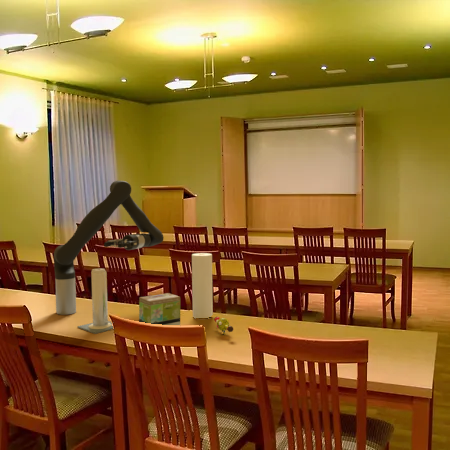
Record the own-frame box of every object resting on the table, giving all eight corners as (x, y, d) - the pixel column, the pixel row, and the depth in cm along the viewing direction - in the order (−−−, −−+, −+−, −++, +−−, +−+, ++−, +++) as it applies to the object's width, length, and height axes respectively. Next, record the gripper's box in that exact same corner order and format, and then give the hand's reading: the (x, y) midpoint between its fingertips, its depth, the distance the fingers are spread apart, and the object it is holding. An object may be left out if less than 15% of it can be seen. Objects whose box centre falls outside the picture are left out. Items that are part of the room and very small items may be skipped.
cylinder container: (215, 317, 237) (214, 254, 235) (196, 319, 234) (195, 255, 232) (208, 313, 246) (207, 251, 244) (190, 315, 243) (189, 252, 240)
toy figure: (209, 329, 219) (209, 313, 218) (221, 327, 221) (221, 312, 220) (224, 341, 202) (224, 324, 201) (237, 339, 204) (237, 322, 203)
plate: (77, 327, 223) (77, 325, 223) (105, 321, 233) (105, 319, 233) (94, 333, 213) (94, 332, 213) (122, 327, 223) (122, 325, 223)
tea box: (151, 336, 209) (150, 301, 208) (138, 331, 217) (138, 297, 216) (181, 329, 219) (180, 295, 218) (168, 324, 226) (167, 292, 225)
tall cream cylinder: (104, 327, 219) (102, 270, 217) (90, 327, 221) (88, 270, 219) (110, 323, 226) (108, 268, 224) (96, 323, 227) (95, 267, 225)
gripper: (122, 233, 257) (100, 236, 243) (144, 234, 250) (123, 237, 236) (122, 248, 258) (100, 252, 244) (145, 249, 251) (123, 253, 237)
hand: (111, 245), depth 240 cm, fingers open, 8 cm apart
